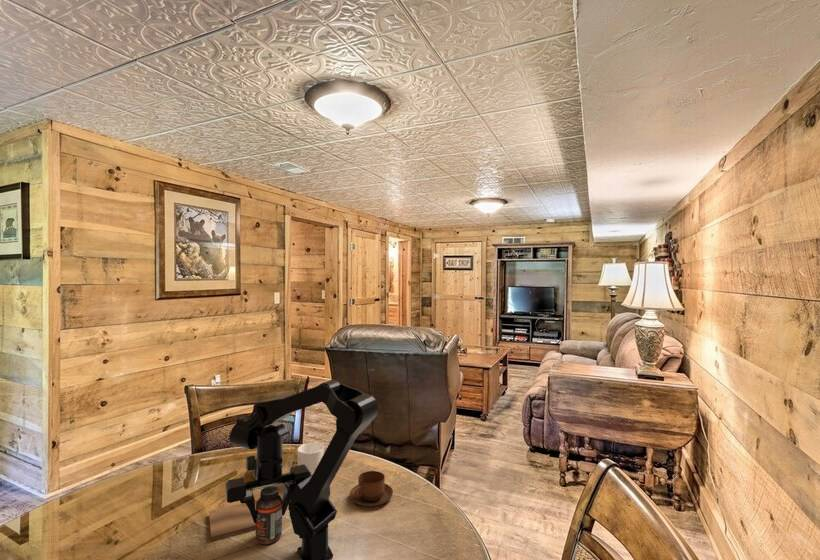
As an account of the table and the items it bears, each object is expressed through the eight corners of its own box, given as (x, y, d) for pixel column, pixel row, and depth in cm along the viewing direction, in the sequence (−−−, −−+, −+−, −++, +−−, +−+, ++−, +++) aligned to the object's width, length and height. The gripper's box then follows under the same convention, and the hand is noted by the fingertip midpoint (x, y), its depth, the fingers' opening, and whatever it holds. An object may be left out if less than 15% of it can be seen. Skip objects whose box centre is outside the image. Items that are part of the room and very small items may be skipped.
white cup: (317, 488, 118) (317, 454, 119) (292, 485, 120) (292, 452, 120) (327, 476, 126) (328, 444, 126) (304, 473, 128) (304, 442, 128)
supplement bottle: (249, 541, 94) (250, 492, 94) (269, 527, 99) (269, 481, 99) (268, 549, 91) (268, 498, 91) (287, 534, 97) (287, 487, 97)
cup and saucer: (382, 514, 106) (382, 490, 106) (342, 506, 109) (342, 483, 110) (398, 492, 117) (399, 470, 117) (361, 485, 121) (361, 464, 121)
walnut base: (265, 526, 100) (265, 522, 100) (211, 541, 94) (211, 536, 94) (258, 503, 110) (258, 499, 110) (209, 515, 104) (209, 511, 104)
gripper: (300, 434, 107) (300, 493, 107) (223, 447, 98) (223, 512, 98) (312, 449, 97) (311, 514, 97) (227, 465, 88) (226, 537, 88)
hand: (269, 518), depth 95 cm, fingers closed on supplement bottle, 6 cm apart
